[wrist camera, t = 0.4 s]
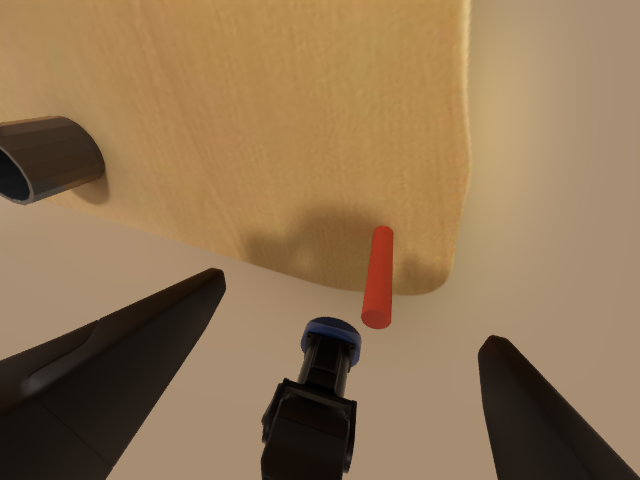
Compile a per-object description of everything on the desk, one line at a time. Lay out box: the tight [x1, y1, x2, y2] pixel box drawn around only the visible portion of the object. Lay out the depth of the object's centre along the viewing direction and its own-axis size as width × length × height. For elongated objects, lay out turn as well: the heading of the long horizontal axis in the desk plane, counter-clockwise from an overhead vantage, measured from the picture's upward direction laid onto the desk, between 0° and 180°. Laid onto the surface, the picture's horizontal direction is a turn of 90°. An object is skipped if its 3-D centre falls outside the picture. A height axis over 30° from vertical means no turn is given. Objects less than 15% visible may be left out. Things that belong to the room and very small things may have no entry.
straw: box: [361, 226, 393, 329], centre depth 18 cm, size 2×2×9 cm
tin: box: [0, 116, 104, 205], centre depth 22 cm, size 6×6×6 cm
